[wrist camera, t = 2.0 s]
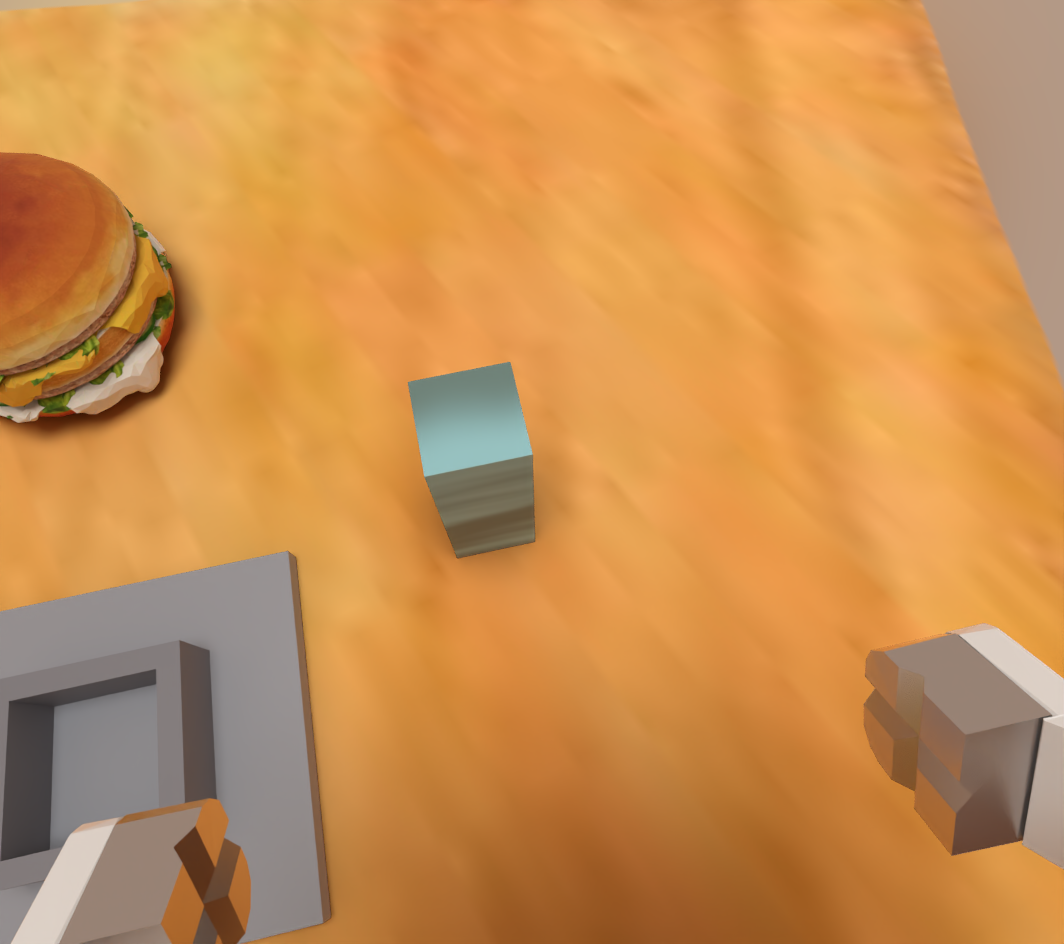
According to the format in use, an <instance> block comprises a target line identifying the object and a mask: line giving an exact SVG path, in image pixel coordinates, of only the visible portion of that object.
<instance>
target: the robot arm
mask: <svg viewBox="0 0 1064 944" xmlns="http://www.w3.org/2000/svg"><path fill="white" fill-rule="evenodd" d="M865 677H866V678H867V679H868V680H869V681H870V683H871V684H872V685H873V686H874V687H875V689H874V691H873V692H872V694H871V695H870V696H869V698H868V699H867V701H866V702H865V703H864V727H865V731H866V734H867V737H868V741H869V744H870V747H871V749H872V751H873V753H874V755H875V757H876V758H877V760H878V762H879V764H880V765H881V766H882V768H883V769H884V770H885V772H886V773H887V774H888V776H889V777H890V778H891V780H893V781H895V782H897V783H899V784H901V785H903V786H905V787H907V788H909V789H911V790H913V791H915V806H914V809H915V810H916V812H917V813H918V814H919V815H920V817H921V818H922V819H923V820H924V822H925V823H926V824H927V825H928V827H929V828H930V829H931V830H932V832H933V833H934V834H935V835H936V837H937V838H938V839H939V840H940V842H941V843H942V844H943V846H944V847H945V848H946V849H947V851H948V852H949V853H950V854H951V856H953V855H957V854H962V853H967V852H971V851H976V850H981V849H985V848H990V847H994V846H999V845H1004V844H1008V843H1013V842H1018V841H1022V840H1023V843H1022V845H1024V846H1025V847H1027V848H1029V849H1030V850H1032V851H1034V852H1035V853H1037V854H1039V855H1040V856H1042V857H1044V858H1045V859H1047V860H1049V861H1051V862H1052V863H1054V864H1056V865H1057V866H1059V867H1061V868H1062V869H1064V679H1063V678H1062V677H1061V676H1059V675H1058V674H1057V673H1056V672H1054V671H1053V670H1052V669H1050V668H1049V667H1048V666H1046V665H1045V664H1044V663H1043V662H1041V661H1040V660H1039V659H1037V658H1036V657H1035V656H1034V655H1032V654H1031V653H1030V652H1028V651H1027V650H1026V649H1024V648H1023V647H1022V646H1021V645H1019V644H1018V643H1017V642H1015V641H1014V640H1013V639H1011V638H1010V637H1009V636H1008V635H1006V634H1005V633H1004V632H1002V631H1001V630H1000V629H999V628H997V627H995V626H992V625H989V624H986V623H983V624H978V625H974V626H970V627H966V628H962V629H958V630H954V631H949V632H946V633H945V634H939V635H935V636H930V637H926V638H922V639H917V640H913V641H909V642H904V643H900V644H896V645H892V646H887V647H883V648H879V649H874V650H871V651H870V653H869V655H868V657H867V659H866V668H865ZM228 822H229V819H228V817H227V815H226V813H225V811H224V809H223V807H222V805H221V803H220V801H219V800H216V799H211V798H208V799H203V800H198V801H193V802H188V803H183V804H178V805H173V806H168V807H163V808H158V809H153V810H148V811H143V812H138V813H133V814H128V815H125V816H124V817H118V818H113V819H108V820H102V821H97V822H92V823H87V824H82V825H81V826H80V827H78V828H77V829H76V830H75V831H74V832H72V833H71V834H70V835H69V837H68V838H67V840H66V842H65V844H64V846H63V848H62V850H61V851H60V853H59V855H58V857H57V859H56V861H55V863H54V864H53V866H52V868H51V870H50V872H49V874H48V875H47V877H46V879H45V881H44V883H43V885H42V887H41V888H40V890H39V892H38V894H37V896H36V898H35V900H34V901H33V903H32V905H31V907H30V909H29V911H28V913H27V914H26V916H25V918H24V920H23V922H22V924H21V926H20V927H19V929H18V931H17V933H16V935H15V937H14V939H13V940H12V942H11V944H237V943H238V942H239V941H240V939H241V938H242V937H243V936H244V934H245V933H246V928H247V923H248V918H249V914H250V909H251V879H250V874H249V869H248V863H247V860H246V858H245V855H244V853H243V851H242V848H241V847H240V846H238V845H237V844H235V843H233V842H231V841H229V840H228V839H226V838H224V836H225V833H226V829H227V826H228Z"/></svg>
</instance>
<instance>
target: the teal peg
mask: <svg viewBox="0 0 1064 944" xmlns="http://www.w3.org/2000/svg"><path fill="white" fill-rule="evenodd" d="M408 386H409V392H410V397H411V403H412V409H413V414H414V420H415V426H416V431H417V437H418V443H419V448H420V454H421V460H422V466H423V471H424V477H425V479H426V482H427V484H428V487H429V489H430V492H431V494H432V497H433V499H434V502H435V504H436V507H437V509H438V512H439V514H440V516H441V519H442V521H443V524H444V526H445V529H446V531H447V534H448V536H449V539H450V541H451V544H452V546H453V549H454V551H455V554H456V556H457V558H462V557H466V556H471V555H476V554H480V553H485V552H489V551H494V550H499V549H503V548H508V547H513V546H517V545H522V544H527V543H531V542H535V520H534V485H533V454H532V450H531V446H530V442H529V437H528V433H527V429H526V425H525V421H524V417H523V412H522V408H521V404H520V400H519V396H518V392H517V388H516V383H515V379H514V375H513V371H512V367H511V363H510V362H507V363H502V364H497V365H492V366H487V367H481V368H476V369H471V370H466V371H461V372H456V373H451V374H446V375H441V376H436V377H431V378H426V379H420V380H415V381H410V382H408Z"/></svg>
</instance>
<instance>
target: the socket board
mask: <svg viewBox="0 0 1064 944" xmlns="http://www.w3.org/2000/svg"><path fill="white" fill-rule="evenodd" d="M208 798H211V799H216V800H219V801H220V803H221V805H222V807H223V809H224V811H225V813H226V815H227V817H228V819H229V822H228V826H227V829H226V833H225V836H224V838H226V839H228V840H229V841H231V842H233V843H235V844H237V845H238V846H240V847H241V848H242V851H243V853H244V855H245V858H246V860H247V863H248V869H249V874H250V879H251V909H250V914H249V918H248V923H247V928H246V933H245V934H244V936H243V937H242V938H241V939H240V941H239V942H238V943H237V944H241V943H245V942H249V941H253V940H257V939H261V938H265V937H269V936H273V935H277V934H281V933H286V932H290V931H294V930H298V929H302V928H306V927H310V926H314V925H318V924H322V923H324V922H325V921H327V920H328V919H330V918H331V911H330V901H329V890H328V880H327V870H326V860H325V850H324V839H323V829H322V819H321V809H320V799H319V788H318V778H317V768H316V758H315V748H314V737H313V727H312V717H311V707H310V696H309V686H308V676H307V666H306V656H305V645H304V635H303V625H302V615H301V605H300V594H299V584H298V574H297V564H296V557H295V556H293V555H292V554H291V553H290V552H289V551H286V552H281V553H276V554H271V555H267V556H262V557H257V558H252V559H248V560H243V561H238V562H233V563H229V564H224V565H219V566H214V567H210V568H205V569H200V570H195V571H191V572H186V573H181V574H176V575H172V576H167V577H162V578H157V579H153V580H148V581H143V582H138V583H134V584H129V585H124V586H119V587H115V588H110V589H105V590H100V591H96V592H91V593H86V594H82V595H77V596H72V597H67V598H63V599H58V600H53V601H48V602H44V603H39V604H34V605H29V606H25V607H20V608H15V609H10V610H6V611H1V612H0V944H11V942H12V940H13V939H14V937H15V935H16V933H17V931H18V929H19V927H20V926H21V924H22V922H23V920H24V918H25V916H26V914H27V913H28V911H29V909H30V907H31V905H32V903H33V901H34V900H35V898H36V896H37V894H38V892H39V890H40V888H41V887H42V885H43V883H44V881H45V879H46V877H47V875H48V874H49V872H50V870H51V868H52V866H53V864H54V863H55V861H56V859H57V857H58V855H59V853H60V851H61V850H62V848H63V846H64V844H65V842H66V840H67V838H68V837H69V835H70V834H71V833H72V832H74V831H75V830H76V829H77V828H78V827H80V826H81V825H82V824H87V823H92V822H97V821H102V820H108V819H113V818H118V817H124V816H125V815H128V814H133V813H138V812H143V811H148V810H153V809H158V808H163V807H168V806H173V805H178V804H183V803H188V802H193V801H198V800H203V799H208Z"/></svg>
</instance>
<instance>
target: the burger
mask: <svg viewBox="0 0 1064 944" xmlns="http://www.w3.org/2000/svg"><path fill="white" fill-rule="evenodd" d="M132 217H133V215H132V214H131V213H130V212H129V211H128V210H127V209H126V208H125V207H124V205H123V204H122V203H121V201H120V200H119V198H118V197H117V195H116V194H115V193H114V192H113V191H112V190H111V189H110V188H109V187H107V186H106V185H105V184H104V183H103V182H101V181H100V180H99V179H98V178H96V177H95V176H94V175H92V174H91V173H89V172H87V171H85V170H83V169H81V168H79V167H77V166H75V165H73V164H71V163H67V162H64V161H60V160H57V159H53V158H49V157H46V156H42V155H39V154H25V153H1V152H0V416H5V417H7V419H8V418H9V419H12V420H14V421H16V422H18V423H20V422H28V421H36V420H37V419H38V417H62V416H66V415H70V414H74V413H82V412H84V413H87V414H98V413H100V412H102V411H104V410H106V409H108V408H110V407H112V406H113V405H115V404H116V403H118V402H119V401H120V400H121V399H122V398H123V397H124V396H126V395H128V394H131V393H134V392H136V391H140V392H150V391H152V390H154V388H155V387H156V386H157V384H158V383H159V381H160V368H161V366H162V364H163V360H164V359H163V355H162V352H163V350H164V348H165V346H166V345H167V343H168V341H169V339H170V335H171V330H172V326H173V322H174V314H175V297H174V288H173V284H172V279H171V277H170V274H169V271H168V269H170V268H171V264H170V263H168V262H167V259H166V256H167V253H166V250H165V249H164V247H163V246H162V245H161V244H160V243H159V242H158V240H157V239H156V238H155V237H154V236H153V235H152V234H151V233H150V232H148V231H146V230H144V229H143V225H142V224H139V223H137V222H135V223H134V222H133V220H132V219H131V218H132ZM161 253H164V255H165V256H164V255H161Z"/></svg>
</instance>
